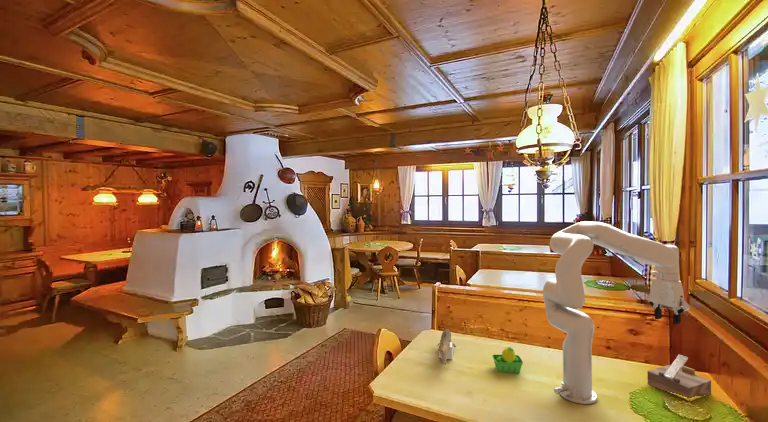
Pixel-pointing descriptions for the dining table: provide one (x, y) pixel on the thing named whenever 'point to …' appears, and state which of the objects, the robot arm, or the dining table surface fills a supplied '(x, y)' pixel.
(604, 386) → the dining table surface
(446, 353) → the wood carving
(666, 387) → the walnut box
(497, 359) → the fruit basket
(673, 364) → the steel strap
